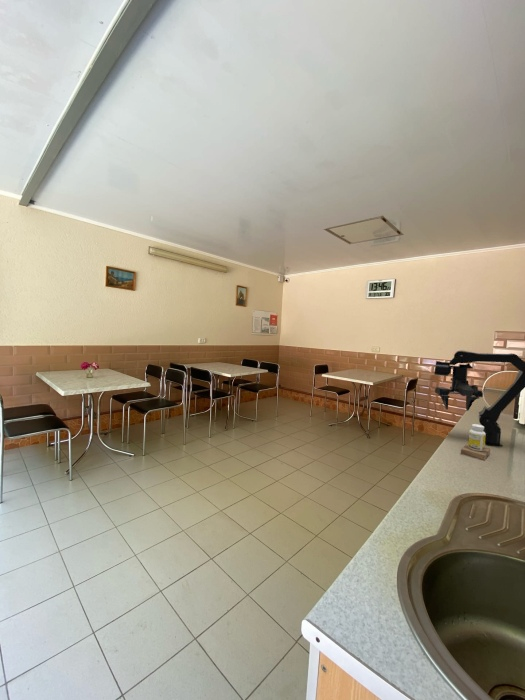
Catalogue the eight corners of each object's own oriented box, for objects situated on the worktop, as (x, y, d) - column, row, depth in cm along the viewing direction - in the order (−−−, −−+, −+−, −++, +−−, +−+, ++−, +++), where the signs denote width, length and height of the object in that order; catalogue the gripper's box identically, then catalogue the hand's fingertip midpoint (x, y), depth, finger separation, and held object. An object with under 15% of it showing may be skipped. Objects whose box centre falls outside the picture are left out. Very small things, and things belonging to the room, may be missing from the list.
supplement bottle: (478, 446, 125) (480, 423, 124) (487, 452, 119) (489, 428, 119) (465, 445, 125) (467, 423, 124) (473, 451, 120) (475, 427, 119)
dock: (466, 447, 129) (467, 443, 128) (489, 453, 123) (490, 448, 123) (460, 453, 122) (461, 449, 122) (484, 460, 116) (485, 455, 116)
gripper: (447, 379, 133) (444, 413, 134) (492, 381, 131) (489, 416, 132) (435, 375, 144) (433, 407, 145) (476, 377, 142) (474, 409, 143)
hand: (456, 409), depth 141 cm, fingers open, 9 cm apart
